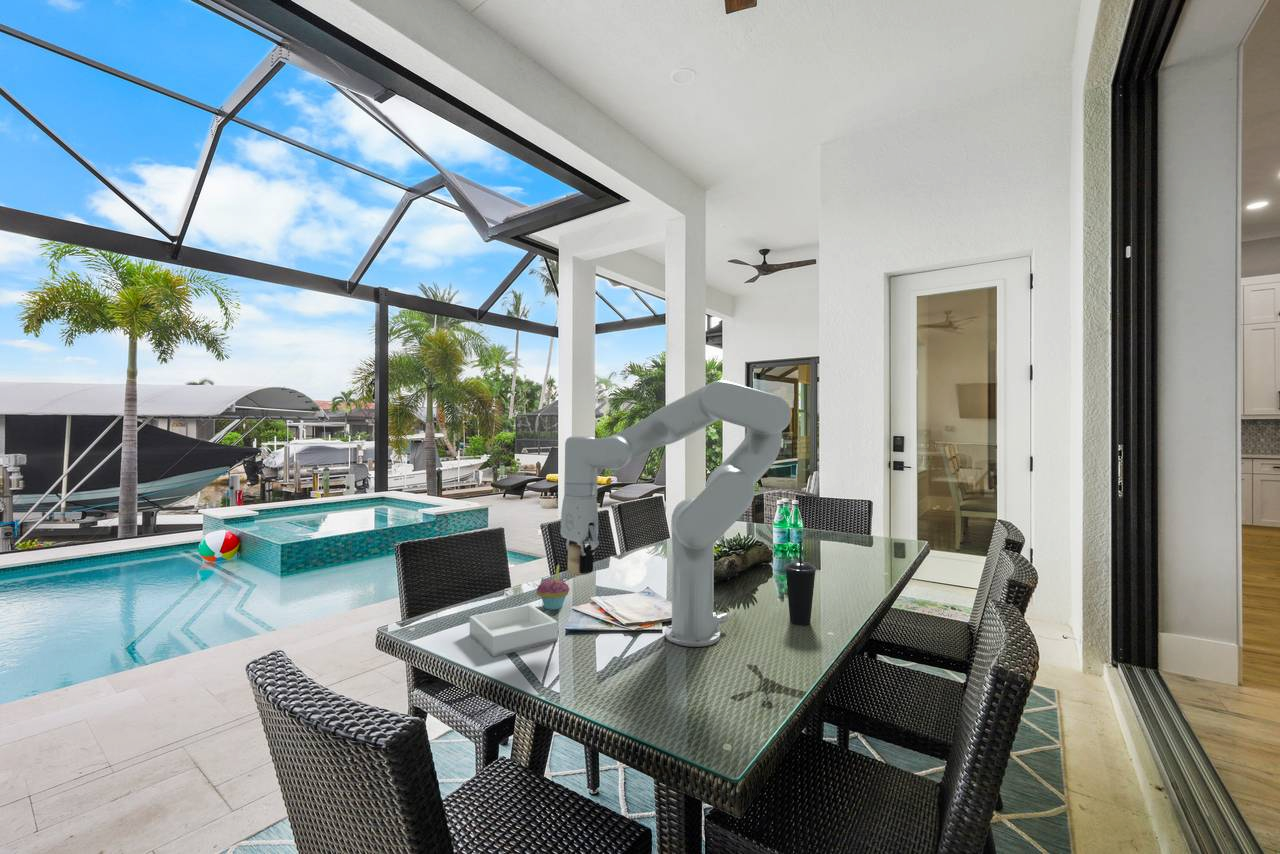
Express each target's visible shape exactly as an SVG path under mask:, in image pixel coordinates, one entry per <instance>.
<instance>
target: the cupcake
mask: <svg viewBox="0 0 1280 854" xmlns="http://www.w3.org/2000/svg"><path fill="white" fill-rule="evenodd" d="M559 572H560V562H558V563H557V566H556V570H555V578H554V579H548V580H544V581H542V582H541V583H540V584H538V586H537V588H536V594H537V596H539V597H540V598H541V600H542V603H543V607H544V608H545V610H559V609H561V608H563V607H564V606H563V605H564V602H565V600H566V597H567V596H568V594H569V592H570V587H569V585H568V583H566V582H565V581H563V580H562V579H559Z"/></svg>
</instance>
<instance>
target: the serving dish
mask: <svg viewBox="0 0 1280 854" xmlns="http://www.w3.org/2000/svg"><path fill="white" fill-rule="evenodd" d="M558 625H559V622H558V621H557V620H556V619H554V618H552V617H551V616H550V615H548V614H546V613H545V612H543V611H542V610H540V609H539V608H537V607H535V606H534V605H533V604H531V603H529V604H522V605H518V606H514V607H513V606H512V607H508V608H504V609H498V610H494V611H489V612H483V613H479V614H474V615H473V614H472V615H470V616H469V635H470V636H471V638H473V640H475V641H476V642H477V644H479V645H480V646H481V647H482V648H483V649H484V650H485V651H486V652H487V653H488V654H490V656H492V658H495V657H499V656H503V655H507V654H510V653H515V652H519V651H522V650H527V649H531V648H535V647H539V646H543V645H547V644H551V643H554V642H558V641H559V640H558V639H559V632H558V630H559V629H558Z"/></svg>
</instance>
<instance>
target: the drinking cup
mask: <svg viewBox="0 0 1280 854" xmlns="http://www.w3.org/2000/svg"><path fill="white" fill-rule="evenodd" d="M783 567H784V569H785V577H786V579H785V580H786V589H787V599H788V601H787V602H788V612H789V614H788V615H789V622H790V623H791V624H793V625H797V626H808V625H810V624H811V620H812V609H813V599H814V588H815V580H816V579H815V577H816V572H817V567H816V566H815V565H813V564H811V563H809V562H806V561H803V541H802V540H799V541H798V560H797V561H792V562H790V563H787V564H784V566H783Z"/></svg>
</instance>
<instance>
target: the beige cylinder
mask: <svg viewBox="0 0 1280 854" xmlns="http://www.w3.org/2000/svg"><path fill="white" fill-rule="evenodd" d="M587 545H589V544H585V548H586V547H587ZM580 555H582V554H581V547H580V543H575V544H570V545H568V567H567V573H568V575H573V576H586V575H589V574H591V573H592V572H589V573H583V574H581V573H580V572H579V565H580Z"/></svg>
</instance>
